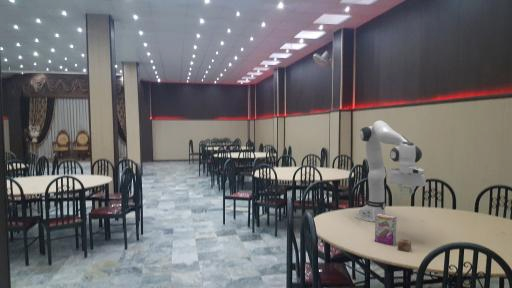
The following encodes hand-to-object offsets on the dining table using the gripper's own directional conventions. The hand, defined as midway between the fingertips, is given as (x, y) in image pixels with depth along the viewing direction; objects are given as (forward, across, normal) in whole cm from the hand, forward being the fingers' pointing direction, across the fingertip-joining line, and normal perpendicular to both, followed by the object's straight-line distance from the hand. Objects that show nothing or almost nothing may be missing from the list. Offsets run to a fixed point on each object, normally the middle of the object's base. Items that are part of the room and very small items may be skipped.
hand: (406, 192), depth 207 cm
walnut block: (+31, +4, -12) cm, 33 cm away
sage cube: (+2, 0, 0) cm, 2 cm away
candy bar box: (+31, -9, -8) cm, 34 cm away
